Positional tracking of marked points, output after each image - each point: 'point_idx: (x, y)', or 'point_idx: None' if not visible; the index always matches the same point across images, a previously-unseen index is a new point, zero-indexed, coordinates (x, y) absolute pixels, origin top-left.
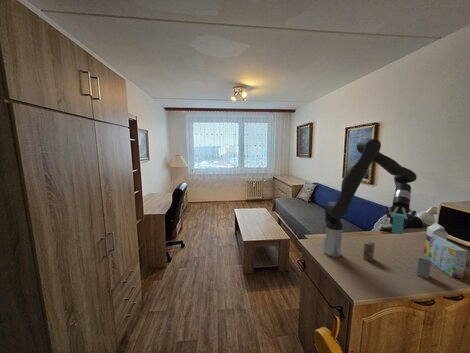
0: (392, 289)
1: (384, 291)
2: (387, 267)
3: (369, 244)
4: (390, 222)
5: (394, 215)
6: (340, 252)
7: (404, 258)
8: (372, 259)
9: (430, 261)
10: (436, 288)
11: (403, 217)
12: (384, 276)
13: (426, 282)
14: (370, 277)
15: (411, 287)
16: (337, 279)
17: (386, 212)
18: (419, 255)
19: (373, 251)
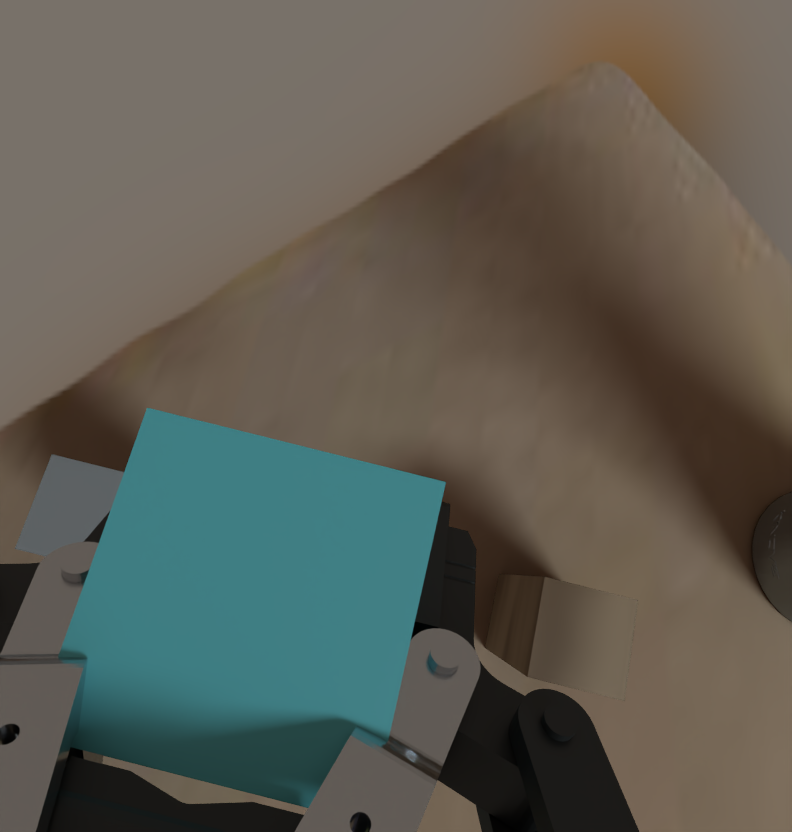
0: (408, 230)
1: (455, 189)
2: None
3: (587, 590)
4: (456, 539)
5: (415, 477)
6: (776, 537)
7: None
8: (500, 586)
9: (58, 457)
10: (129, 372)
11: (177, 420)
12: (432, 367)
13: None
14: (523, 307)
15: (288, 307)
16: (712, 188)
17: (628, 813)
18: None
19: (515, 609)
